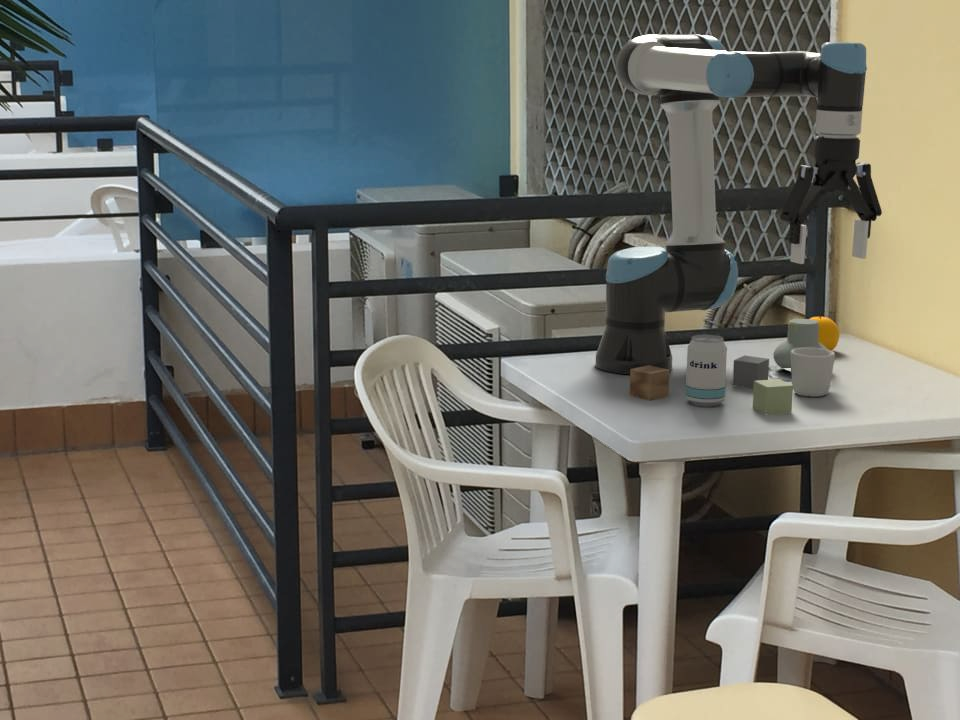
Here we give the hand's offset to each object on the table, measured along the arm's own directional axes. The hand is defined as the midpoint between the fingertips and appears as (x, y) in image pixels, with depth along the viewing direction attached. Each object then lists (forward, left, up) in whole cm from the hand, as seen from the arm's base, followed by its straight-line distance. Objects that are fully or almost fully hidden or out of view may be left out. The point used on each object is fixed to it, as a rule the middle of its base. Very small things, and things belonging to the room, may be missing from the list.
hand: (828, 260), depth 253 cm
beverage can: (-13, -15, -27) cm, 34 cm away
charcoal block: (-21, +1, -27) cm, 34 cm away
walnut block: (-22, -21, -27) cm, 41 cm away
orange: (-39, +32, -27) cm, 57 cm away
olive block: (-4, -7, -27) cm, 28 cm away
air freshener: (-26, +17, -27) cm, 41 cm away
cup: (-11, +8, -27) cm, 30 cm away
